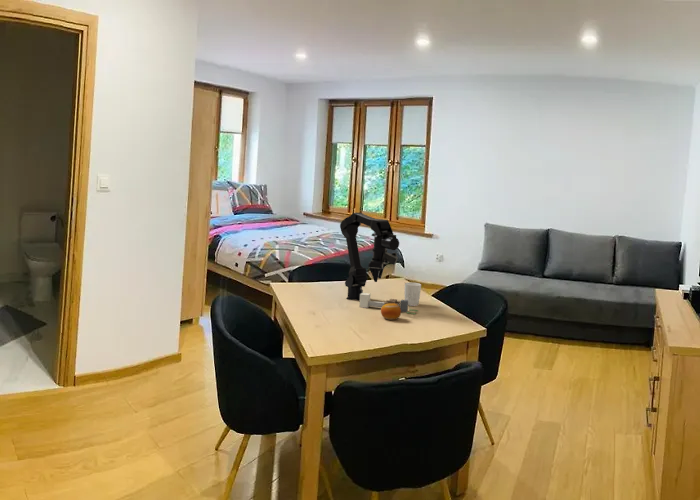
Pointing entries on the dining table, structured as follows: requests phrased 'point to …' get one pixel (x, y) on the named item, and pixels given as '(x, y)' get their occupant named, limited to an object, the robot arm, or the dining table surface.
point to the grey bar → (368, 301)
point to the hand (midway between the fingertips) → (377, 280)
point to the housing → (397, 304)
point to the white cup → (412, 293)
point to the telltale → (404, 305)
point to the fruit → (391, 311)
